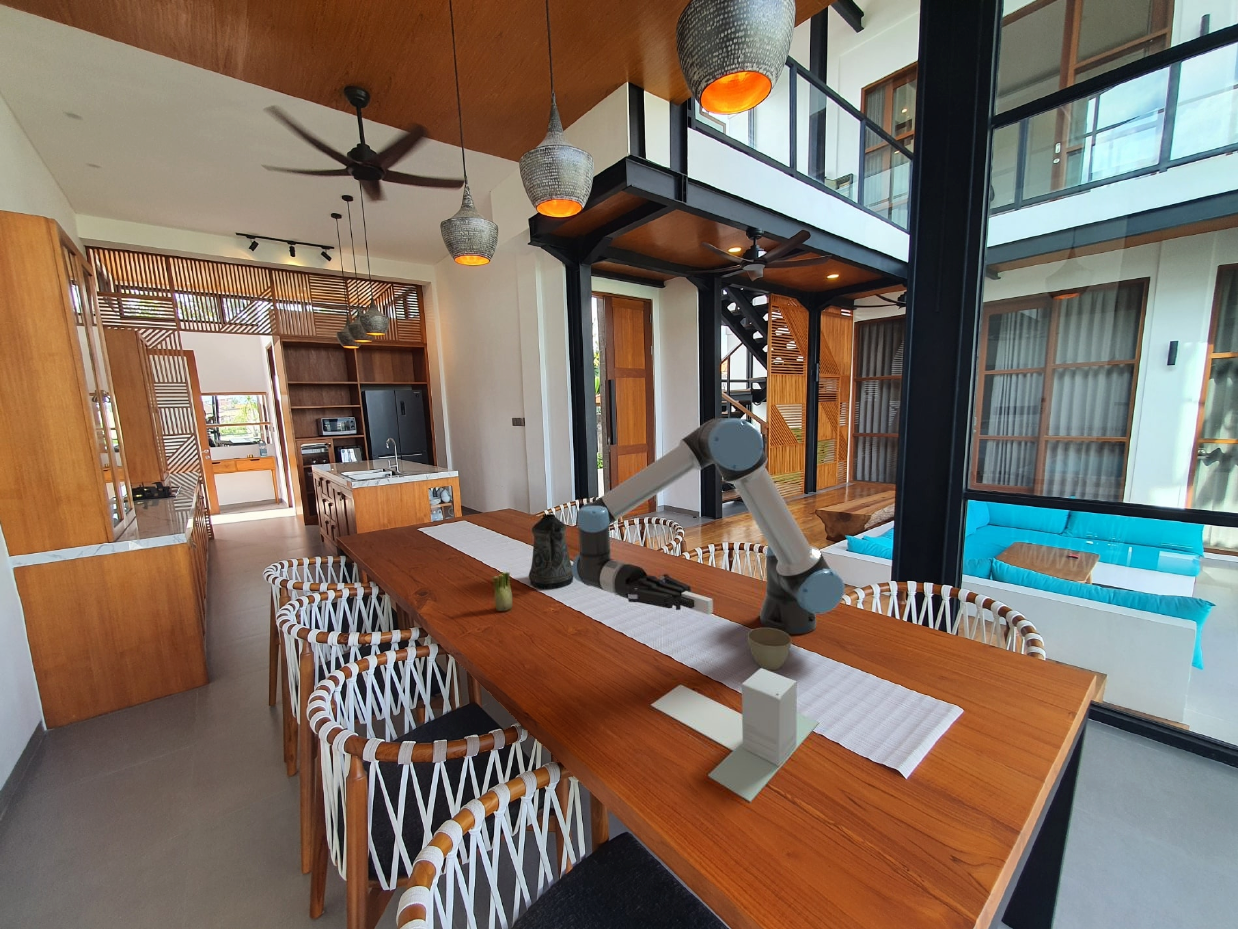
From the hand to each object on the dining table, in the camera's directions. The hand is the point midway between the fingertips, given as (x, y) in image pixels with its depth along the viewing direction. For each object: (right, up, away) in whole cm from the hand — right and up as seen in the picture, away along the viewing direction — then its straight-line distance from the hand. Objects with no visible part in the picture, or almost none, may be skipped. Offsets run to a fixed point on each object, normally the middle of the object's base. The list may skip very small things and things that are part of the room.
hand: (710, 606), depth 94 cm
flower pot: (+18, -21, +22) cm, 36 cm away
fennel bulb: (-54, -19, +60) cm, 83 cm away
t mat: (+2, -24, +1) cm, 24 cm away
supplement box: (+10, -24, -6) cm, 27 cm away
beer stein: (-41, -16, +82) cm, 93 cm away
